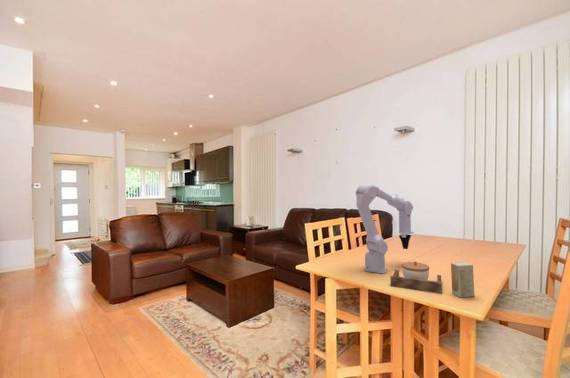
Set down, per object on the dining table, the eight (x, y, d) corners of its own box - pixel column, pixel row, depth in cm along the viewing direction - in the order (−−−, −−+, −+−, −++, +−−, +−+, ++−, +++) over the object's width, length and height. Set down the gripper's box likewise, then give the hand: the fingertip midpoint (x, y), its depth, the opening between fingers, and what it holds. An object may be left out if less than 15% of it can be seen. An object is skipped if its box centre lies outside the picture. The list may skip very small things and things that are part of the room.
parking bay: (390, 285, 114) (390, 276, 114) (395, 274, 128) (395, 266, 128) (441, 293, 104) (441, 283, 104) (441, 280, 118) (441, 271, 118)
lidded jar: (427, 289, 109) (426, 266, 109) (400, 284, 115) (399, 262, 115) (431, 281, 118) (430, 260, 118) (405, 277, 124) (405, 257, 124)
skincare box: (466, 292, 105) (466, 261, 105) (475, 296, 100) (474, 264, 100) (450, 293, 105) (450, 262, 105) (458, 297, 100) (457, 265, 100)
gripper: (412, 225, 133) (412, 252, 133) (414, 222, 145) (414, 246, 145) (396, 224, 136) (397, 251, 136) (400, 221, 149) (400, 245, 149)
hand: (405, 248), depth 141 cm, fingers closed
